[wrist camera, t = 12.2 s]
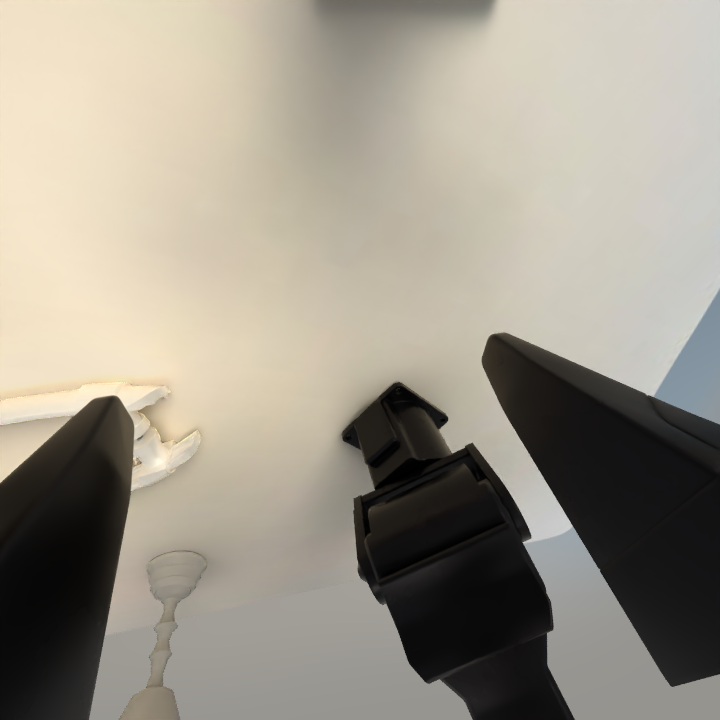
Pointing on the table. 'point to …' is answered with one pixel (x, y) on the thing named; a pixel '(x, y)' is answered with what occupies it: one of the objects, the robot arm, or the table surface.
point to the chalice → (165, 631)
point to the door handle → (147, 442)
